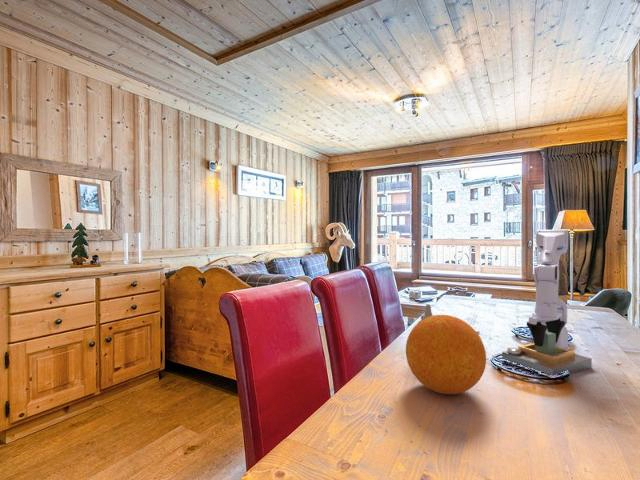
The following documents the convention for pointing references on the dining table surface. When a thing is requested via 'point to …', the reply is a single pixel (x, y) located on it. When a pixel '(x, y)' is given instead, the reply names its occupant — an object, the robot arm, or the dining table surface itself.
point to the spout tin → (548, 344)
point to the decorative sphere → (445, 354)
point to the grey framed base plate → (547, 359)
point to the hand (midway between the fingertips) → (545, 344)
